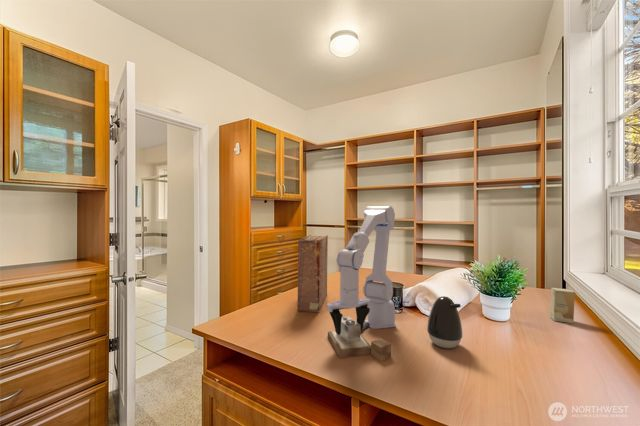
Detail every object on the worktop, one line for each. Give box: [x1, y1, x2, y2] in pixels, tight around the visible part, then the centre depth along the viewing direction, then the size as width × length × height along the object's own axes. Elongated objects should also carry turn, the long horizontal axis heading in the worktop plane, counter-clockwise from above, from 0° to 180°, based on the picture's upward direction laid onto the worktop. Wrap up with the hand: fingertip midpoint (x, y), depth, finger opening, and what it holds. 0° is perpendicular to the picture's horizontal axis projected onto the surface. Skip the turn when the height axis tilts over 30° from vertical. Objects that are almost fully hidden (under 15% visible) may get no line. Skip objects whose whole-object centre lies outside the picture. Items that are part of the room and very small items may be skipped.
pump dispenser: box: [426, 295, 464, 349], centre depth 86 cm, size 10×10×15 cm
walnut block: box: [370, 338, 392, 362], centre depth 79 cm, size 4×4×4 cm
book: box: [297, 234, 329, 313], centre depth 125 cm, size 25×9×30 cm, turn 171°
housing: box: [336, 315, 362, 344], centre depth 86 cm, size 4×8×6 cm, turn 23°
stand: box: [327, 330, 371, 359], centre depth 85 cm, size 10×13×2 cm
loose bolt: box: [362, 322, 370, 331], centre depth 97 cm, size 6×3×3 cm, turn 140°
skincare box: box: [549, 287, 576, 324], centre depth 107 cm, size 6×4×12 cm
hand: (348, 331), depth 85 cm, fingers open, 7 cm apart
